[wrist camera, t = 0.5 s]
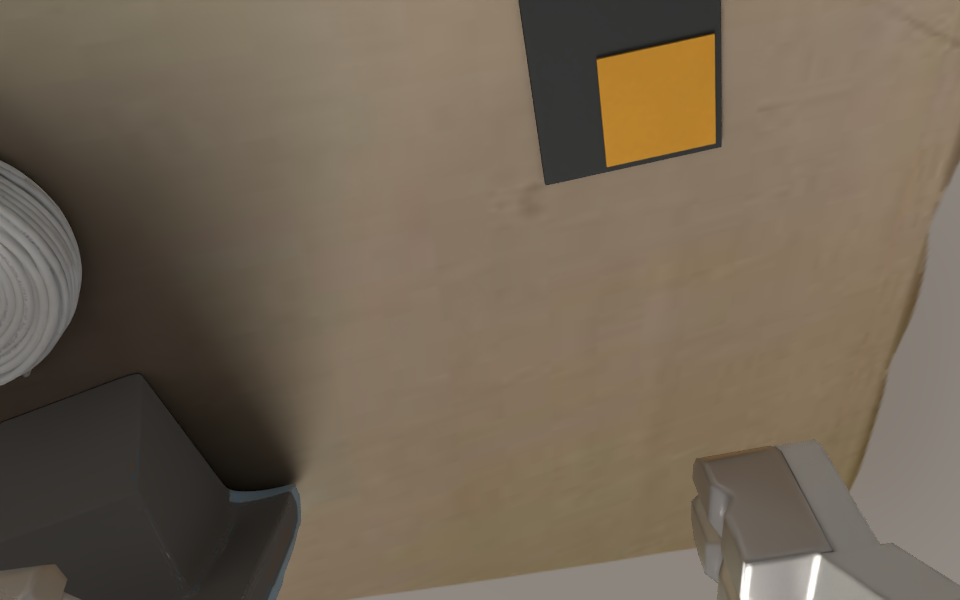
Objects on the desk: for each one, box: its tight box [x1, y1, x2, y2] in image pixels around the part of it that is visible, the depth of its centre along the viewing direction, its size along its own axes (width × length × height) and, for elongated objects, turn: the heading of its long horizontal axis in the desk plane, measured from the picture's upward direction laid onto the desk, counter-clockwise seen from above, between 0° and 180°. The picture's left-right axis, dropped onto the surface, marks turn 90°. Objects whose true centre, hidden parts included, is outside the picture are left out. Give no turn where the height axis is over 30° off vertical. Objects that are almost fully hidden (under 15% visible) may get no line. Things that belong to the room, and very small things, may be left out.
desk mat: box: [519, 0, 721, 185], centre depth 55 cm, size 20×13×1 cm, turn 10°
